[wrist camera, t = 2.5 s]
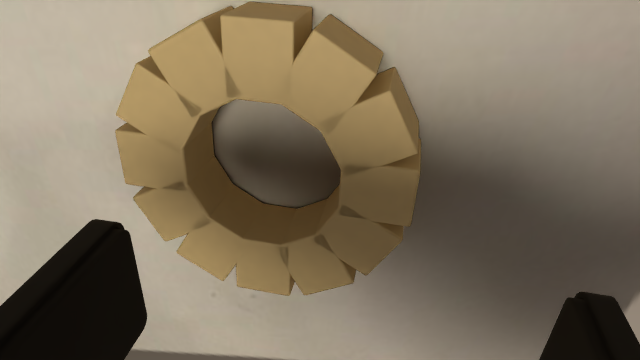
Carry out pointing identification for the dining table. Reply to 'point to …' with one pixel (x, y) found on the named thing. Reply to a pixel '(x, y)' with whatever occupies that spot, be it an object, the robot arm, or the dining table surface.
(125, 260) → the robot arm
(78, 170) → the dining table surface
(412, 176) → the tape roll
